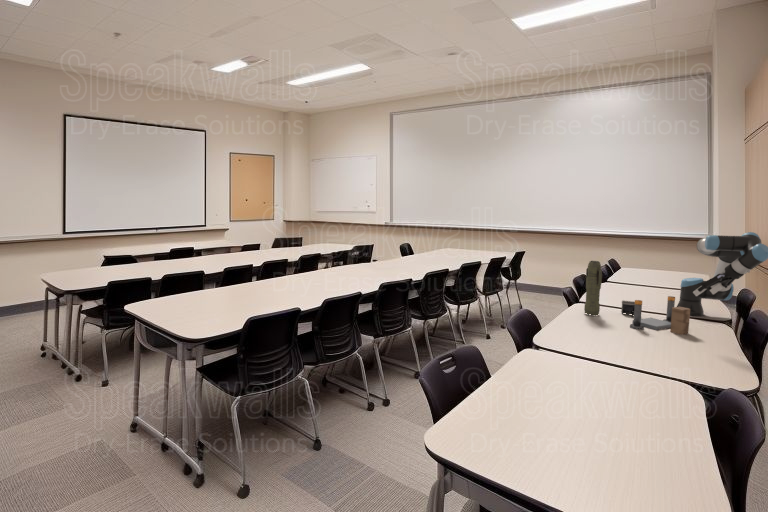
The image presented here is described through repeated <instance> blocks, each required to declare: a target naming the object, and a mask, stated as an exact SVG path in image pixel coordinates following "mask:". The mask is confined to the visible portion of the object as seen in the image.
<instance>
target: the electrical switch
mask: <svg viewBox="0 0 768 512" xmlns="http://www.w3.org/2000/svg"><path fill="white" fill-rule="evenodd" d="M634 308H635V300H634V301H633V300H632V301H631V300H624V299H623V300H621V311H620V312H621V314H622V315H624V314H623V313H626V314H632V315H631V316H633V315H634Z"/></svg>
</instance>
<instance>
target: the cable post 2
mask: <svg viewBox="0 0 768 512" xmlns="http://www.w3.org/2000/svg"><path fill="white" fill-rule="evenodd" d="M675 300H676V296H673V295H672V296H671V295H668V296H667V305H666V315H665V316H666V317H665V319H662V320H663V321H667V322H671V317H672V316H671V315H672V307H675V305H676V301H675Z"/></svg>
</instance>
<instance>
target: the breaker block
mask: <svg viewBox="0 0 768 512" xmlns="http://www.w3.org/2000/svg"><path fill="white" fill-rule="evenodd" d="M671 316H672V317H671V328H670V331H669V332H670V333H673V334H677V335H681V336H682V335H683V336H684V335H687V334H689V329H690V317H691V315H690V309H688V308H684V307H677V306H674V307H672V315H671Z"/></svg>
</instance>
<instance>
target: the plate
mask: <svg viewBox="0 0 768 512" xmlns="http://www.w3.org/2000/svg"><path fill="white" fill-rule="evenodd" d="M663 320H664V319H658V318H655V317H645V318H641V325H642V326H644V328H646V329H647V328H648V329H651V330H655V331H656V330H657V331H658V330H664V329H665V328H666V329H671V328H670V327H671V322H667V321H663ZM633 323H634V319H632V324H633Z"/></svg>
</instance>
